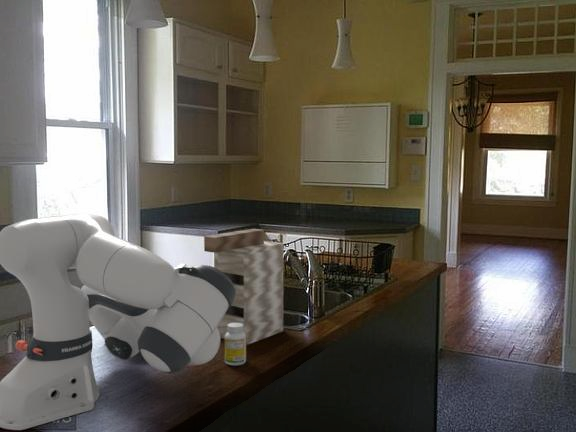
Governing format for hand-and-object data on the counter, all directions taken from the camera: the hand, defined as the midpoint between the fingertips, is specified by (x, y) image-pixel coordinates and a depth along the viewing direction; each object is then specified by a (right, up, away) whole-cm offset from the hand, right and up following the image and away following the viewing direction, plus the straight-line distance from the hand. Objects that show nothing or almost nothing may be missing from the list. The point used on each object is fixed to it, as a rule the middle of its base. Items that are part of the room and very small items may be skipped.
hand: (197, 267), depth 156 cm
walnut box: (+9, +5, +12) cm, 15 cm away
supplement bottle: (+10, -23, -4) cm, 26 cm away
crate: (+12, -21, +19) cm, 31 cm away
